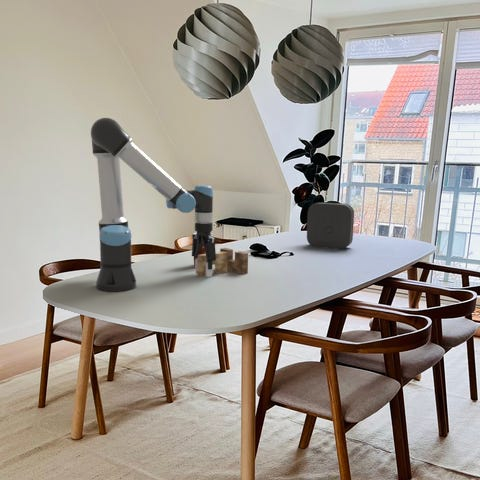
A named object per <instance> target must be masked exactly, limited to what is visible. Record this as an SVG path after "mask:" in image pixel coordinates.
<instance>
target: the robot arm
mask: <svg viewBox="0 0 480 480" xmlns="http://www.w3.org/2000/svg"><path fill="white" fill-rule="evenodd" d="M90 137H91V147H92V154H93V156H95V158H96V159H97V173H98V174H97V175H98V184H99V196H100V208H101V219H99V221H98V229H99V230H98V231H99V236H98V237H99V251H100V257H99V258H100V260H99V261H100V269H99V272H98V275H97V277H96V278H97V279H96V286H95V288H96V289H97V290H100V291H102V292H103V291H104V292H123V291H129V290H134V289H135V288H136V287H137V279H136V277H135V274H134V271H133V268H132V233H131V229H130V228H129V220H128V219H127V218H126V217H125V216H124V203H123V202H124V201H123V192H122V191H123V189H122V178H121V163H120V160H122V162H123V163H125V164H126V165H128V167H129V168H131V169H132V170H133V171H134V172H135V173H136V174H138V176H140V177H141V178H142V179H143V180H145V181H146V182H147V184H149V185H150V186H151V187H152V188H153V189H155V191H157V192H158V193H159V194H160V195H161V196H163V197H164V198H165V202H166V207H167V209H173V210H176V209H177V210H178V211H179V212H181V213H183V214H184V213H187V214H188V213H190V212H192V211H193V210H194V221H195V223H194V231H195V233H197V234H194V233H192V234H191V238H192V244H191V245H192V246H191V257H193V259H194V258H195V266H194V267H195V268H194V269H195V271H194V274H197V257H198V255H201V251H202V247H203V246H204V248H205V253H206V258H207V261H206V276H205V278H210V277H212V276H213V265H212V262H213V261H216V252H217V251H216V240H217V239H216V237H213V236H212V235H211V232H213V225H214V224H213V211H214V210H213V208H214V207H213V206H214V205H213V202H214V201H213V200H214V193H213V187H212V186H211V185H208V184H207V185H205V184H204V185H195V186H194V189H193V190H192V189H191V190H186V189H185V188H184V187H182V186H181V185H180V184H179V183H178V182H177V181H176V180H175V179H174V178H173V177H172V176H170V175H169V173H167V172H166V171H165V170H164V169H163V168H161V167H160V166H159V165H158V164H157V163H156V162H155V161H154V160H152V159H151V157H149V156H148V155H147V154H146V153H145V152H144V151H143V150H141V149H140V148H139V146H137V145H136V144H135V142H134V141H133V138H132V137H131V136H130V135H129V134H128V133H127V132H126V131H125V130H124V128H123V127H122V126H121V125H120V124H119V122H117V121H116V120H115V119H113V118H110V117H102V118H99V119H97V120H96V121H95V122H94V123H93V124H92V126H91V128H90ZM209 258H210V259H209Z"/></svg>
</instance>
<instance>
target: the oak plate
mask: <svg viewBox="0 0 480 480" xmlns="http://www.w3.org/2000/svg"><path fill="white" fill-rule="evenodd" d="M215 252H216V261H213V262H212V266H213V265H214V273H215V274H226V273H228V270H227V252H220V251H218V252H217V251H215ZM209 259H210V258H209ZM206 261H207V258H206V254H201V255H198V257H197V276H199V277H201V278H202V277H206Z"/></svg>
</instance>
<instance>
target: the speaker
mask: <svg viewBox="0 0 480 480" xmlns="http://www.w3.org/2000/svg"><path fill="white" fill-rule="evenodd" d="M306 219H307V220H306V221H307V222H306V223H307V224H306V240H307V243H308V244H309V245H310V246H312V247H314V246H316V247H315V248H322V247H328V248H327V249H334V248H340V249H339V250H343V249H346V248H348V247H349V246H350V245H352V242H353V239H354V238H353V237H354V225H355V223H354V220H355V211H354V208H353V206H351V205H350V204H348V203H340V202H339V203H338V202H315V203H312V204H311V205H309V207H308V210H307V218H306Z"/></svg>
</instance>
